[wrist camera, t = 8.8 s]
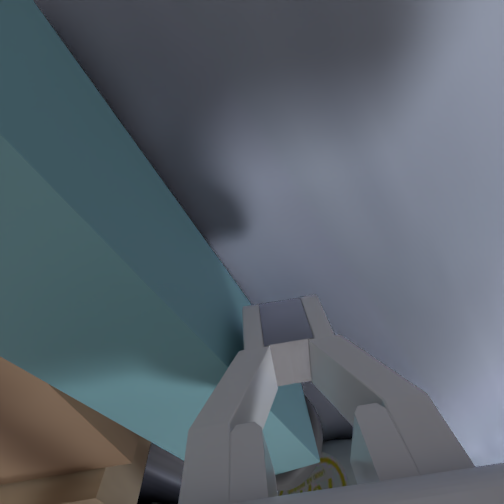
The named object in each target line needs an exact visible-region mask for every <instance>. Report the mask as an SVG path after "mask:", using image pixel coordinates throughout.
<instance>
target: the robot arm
mask: <svg viewBox="0 0 504 504" xmlns="http://www.w3.org/2000/svg"><path fill="white" fill-rule="evenodd" d="M242 318H243V341H244V350H242V351H239V352H238V353H237V355H236V356H235V358H234V359H233V361H232V363H231V364H230V366H229V367H228V369H227V370H226V372H225V374H224V375H223V377H222V378H221V380H220V381H219V383H218V385H217V386H216V388H215V389H214V391H213V392H212V394H211V396H210V397H209V399H208V400H207V402H206V403H205V405H204V407H203V408H202V410H201V411H200V413H199V414H198V416H197V418H196V419H195V421H194V422H193V424H192V425H191V427H190V428H189V430H188V437H187V444H186V451H185V459H184V466H183V473H182V480H181V487H180V494H179V502H178V504H504V463H499V464H493V465H486V466H479V467H475V466H474V464H473V463H472V461H471V459H470V458H469V456H468V455H467V453H466V452H465V450H464V449H463V447H462V446H461V444H460V443H459V441H458V440H457V438H456V437H455V435H454V434H453V432H452V431H451V429H450V428H449V426H448V425H447V423H446V422H445V420H444V419H443V417H442V416H441V414H440V413H439V411H438V410H437V408H436V407H435V405H434V404H433V402H432V401H431V399H430V398H429V396H428V395H427V393H425V392H424V391H422V390H421V389H419V388H418V387H416V386H415V385H414V384H412V383H411V382H409V381H408V380H406V379H405V378H403V377H402V376H400V375H399V374H397V373H396V372H394V371H393V370H392V369H390V368H389V367H387V366H386V365H384V364H383V363H381V362H380V361H378V360H377V359H375V358H374V357H372V356H371V355H370V354H368V353H367V352H365V351H364V350H362V349H361V348H359V347H358V346H356V345H355V344H353V343H352V342H350V341H349V340H348V339H346V338H345V337H343V336H342V335H340V334H339V335H334V332H333V330H332V328H331V325H330V323H329V321H328V319H327V316H326V314H325V312H324V310H323V307H322V305H321V303H320V300H319V298H318V296H317V295H316V294H314V295H308V296H303V297H300V298H293V299H288V300H282V301H275V302H268V303H262V304H257V305H250V306H243V309H242ZM309 381H312V383H313V384H314V385H315V386H316V387H317V389H318V390H319V391H320V392H321V393H322V394H323V395H324V396H325V397H326V398H327V399H328V401H329V402H330V403H331V404H332V405H333V406H334V407H335V408H336V409H337V410H338V411H339V412H340V414H341V415H342V416H343V417H344V418H345V419H346V420H347V421H348V422H349V423H350V424H351V425H352V427H353V435H352V446H351V457H350V463H351V466H352V469H353V472H354V475H355V479H356V482H357V485H350V486H343V487H336V488H329V489H323V490H316V491H309V492H302V493H296V494H289V495H282V496H278V493H277V485H276V477H275V472H274V468H273V465H272V461H271V458H270V454H269V451H268V448H267V444H266V441H265V437H264V434H263V428H264V425H265V423H266V420H267V417H268V414H269V412H270V409H271V406H272V404H273V401H274V398H275V395H276V393H277V390H278V386H283V385H289V384H294V383H301V382H309Z"/></svg>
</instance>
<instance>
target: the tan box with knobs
mask: <svg viewBox="0 0 504 504" xmlns="http://www.w3.org/2000/svg"><path fill="white" fill-rule="evenodd" d="M150 445H151V442H150V441H148V440H146V439H145V438H143V437H141V436H139V435H138V434H136V433H134V432H132V431H131V430H129V429H127V428H125V427H124V426H122V425H120V424H118V423H116V422H115V421H113V420H111V419H109V418H108V417H106V416H104V415H102V414H101V413H99V412H97V411H95V410H94V409H92V408H90V407H88V406H87V405H85V404H83V403H81V402H79V401H78V400H76V399H74V398H72V397H71V396H69V395H67V394H65V393H64V392H62V391H60V390H58V389H57V388H55V387H53V386H51V385H50V384H48V383H46V382H44V381H43V380H41V379H39V378H37V377H35V376H34V375H32V374H30V373H28V372H27V371H25V370H23V369H21V368H20V367H18V366H16V365H14V364H13V363H11V362H9V361H7V360H6V359H4V358H2V357H0V504H137V502H138V497H139V493H140V489H141V484H142V480H143V476H144V471H145V467H146V462H147V458H148V454H149V449H150Z"/></svg>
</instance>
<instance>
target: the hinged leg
mask: <svg viewBox="0 0 504 504" xmlns="http://www.w3.org/2000/svg"><path fill="white" fill-rule="evenodd" d="M250 305H251V303H250V302H249V300H248V299H247V298H246V296H245V295H244V293H243V292H242V291H241V289H240V288H239V286H238V285H237V284H236V282H235V281H234V280H233V278H232V277H231V275H230V274H229V273H228V271H227V270H226V268H225V267H224V266H223V264H222V263H221V261H220V260H219V259H218V257H217V256H216V254H215V253H214V252H213V250H212V249H211V248H210V246H209V245H208V243H207V242H206V241H205V239H204V238H203V236H202V235H201V234H200V232H199V231H198V229H197V228H196V227H195V225H194V224H193V222H192V221H191V220H190V218H189V217H188V216H187V214H186V213H185V211H184V210H183V209H182V207H181V206H180V204H179V203H178V202H177V200H176V199H175V197H174V196H173V195H172V193H171V192H170V190H169V189H168V188H167V186H166V185H165V183H164V182H163V181H162V179H161V178H160V177H159V175H158V174H157V172H156V171H155V170H154V168H153V167H152V165H151V164H150V163H149V161H148V160H147V158H146V157H145V156H144V154H143V153H142V151H141V150H140V149H139V147H138V146H137V145H136V143H135V142H134V140H133V139H132V138H131V136H130V135H129V133H128V132H127V131H126V129H125V128H124V126H123V125H122V124H121V122H120V121H119V119H118V118H117V117H116V115H115V114H114V113H113V111H112V110H111V108H110V107H109V106H108V104H107V103H106V101H105V100H104V99H103V97H102V96H101V94H100V93H99V92H98V90H97V89H96V87H95V86H94V85H93V83H92V82H91V81H90V79H89V78H88V76H87V75H86V74H85V72H84V71H83V69H82V68H81V67H80V65H79V64H78V62H77V61H76V60H75V58H74V57H73V55H72V54H71V53H70V51H69V50H68V48H67V47H66V46H65V44H64V43H63V42H62V40H61V39H60V37H59V36H58V35H57V33H56V32H55V30H54V29H53V28H52V26H51V25H50V23H49V22H48V21H47V19H46V18H45V16H44V15H43V14H42V12H41V11H40V10H39V8H38V7H37V5H36V4H35V3H34V1H33V0H0V357H2V358H4V359H6V360H7V361H9V362H11V363H13V364H14V365H16V366H18V367H20V368H21V369H23V370H25V371H27V372H28V373H30V374H32V375H34V376H35V377H37V378H39V379H41V380H43V381H44V382H46V383H48V384H50V385H51V386H53V387H55V388H57V389H58V390H60V391H62V392H64V393H65V394H67V395H69V396H71V397H72V398H74V399H76V400H78V401H79V402H81V403H83V404H85V405H87V406H88V407H90V408H92V409H94V410H95V411H97V412H99V413H101V414H102V415H104V416H106V417H108V418H109V419H111V420H113V421H115V422H116V423H118V424H120V425H122V426H124V427H125V428H127V429H129V430H131V431H132V432H134V433H136V434H138V435H139V436H141V437H143V438H145V439H146V440H148V441H150V442H152V443H153V444H155V445H157V446H159V447H160V448H162V449H164V450H166V451H168V452H169V453H171V454H173V455H175V456H176V457H178V458H180V459H182V460H183V461H184V459H185V451H186V444H187V437H188V430H189V428H190V427H191V425H192V424H193V422H194V421H195V419H196V418H197V416H198V414H199V413H200V411H201V410H202V408H203V407H204V405H205V403H206V402H207V400H208V399H209V397H210V396H211V394H212V392H213V391H214V389H215V388H216V386H217V385H218V383H219V381H220V380H221V378H222V377H223V375H224V374H225V372H226V370H227V369H228V367H229V366H230V364H231V363H232V361H233V359H234V358H235V356H236V355H237V353H238V352H239V351H242V350H244V341H243V318H242V309H243V306H250ZM263 434H264V437H265V441H266V444H267V448H268V451H269V454H270V458H271V461H272V465H273V468H274V472H275V477H276V485H277V490H278V491H285V490H290V489H293V488H296V487H297V486H299V485H301V484H302V483H303V482H305V481H306V480H307V479H308V478H309V476H310V475H311V474H312V472H313V471H314V470H315V468H316V466H317V464H318V463H319V462H320V455H321V451H322V444H323V432H322V426H321V422H320V419H319V416H318V414H317V412H316V410H315V408H314V407H313V405H312V404H311V403H310V401H309V400H308V399H307V398H306V396H305V395H304V393H303V389H302V385H301V383H294V384H289V385H283V386H278V390H277V393H276V395H275V398H274V401H273V404H272V406H271V409H270V412H269V414H268V417H267V420H266V423H265V425H264V428H263Z"/></svg>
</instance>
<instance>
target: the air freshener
mask: <svg viewBox="0 0 504 504" xmlns="http://www.w3.org/2000/svg"><path fill="white" fill-rule="evenodd" d="M351 446H352V439H343V440H331V441H325V442H323V444H322V451H321V455H320V462H319V463H318V464H317V466H316V468H315V470H314V471H313V472H312V474H311V475H310V476H309V478H308V479H307V480H306V481H305V482H303V483H302V484H301V485H299V486H297V487H296V488H293V489H290V490H285V491H278V496H282V495H289V494H296V493H302V492H309V491H316V490H323V489H329V488H336V487H343V486H350V485H357V482H356V479H355V475H354V472H353V469H352V466H351V463H350V457H351Z"/></svg>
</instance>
